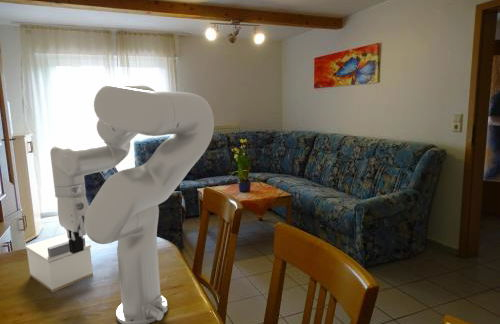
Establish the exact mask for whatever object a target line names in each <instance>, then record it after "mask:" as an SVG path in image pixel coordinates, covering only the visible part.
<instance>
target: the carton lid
mask: <svg viewBox="0 0 500 324" xmlns="http://www.w3.org/2000/svg"><path fill="white" fill-rule="evenodd" d="M83 247H84V250H85V249H88V248H90V249H91V248H92V245H91V244H90V243H87V242H86V238H85V236H83ZM25 249H26V250H27V249H28V250H29V251H31V252H32V253H34V254H35V255H37V256H39V257H40V258H42V259H43V260H45V261H47V262H51V261H54V260H57V259H60V258H62V257H65V256H68V255H71V254H73V253H71V252H70V248H69V239H68V236H67V232H65V233H64V234H60V235H57V236H54V237H50V238H47V239H44V240H43V239H42V240H40V241H37V242H34V243H30V244H27V245H25Z"/></svg>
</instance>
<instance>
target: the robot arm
mask: <svg viewBox="0 0 500 324" xmlns="http://www.w3.org/2000/svg"><path fill="white" fill-rule="evenodd" d="M93 108H94V113H95V115H96V117H97V118H98V120H97V121H96V122H97V123H96V130H97V131H96V132H97V134H98V135H99V138H101V140H103V142H102V143H97V144H95V143H94V144H89V145H81V146H79V145H77V144H62V145H57V146H53V147H52V148H51V149H50V161H51V170H52V180H53V186H54V187H53V188H54V196H55V198H57V216H58V217H57V218H58V222H59V225H60V226H61V227H63V228H64V230H66V233H67V236H68V239H69V248H70V252H71V253H73V254H75V253H78V252H80V251H83V250H84V247H83V237H85V236H87V237H88V238H89V239H90V240H91V241H92V242H94V243H96V244H100V245H108V244H112V243H114V242H116V241H117V248H116V250H117V251H116V253H117V256H116V257H117V265H118V276H119V277H118V278H119V287H120V296H121V297H120V299H121V304H120V305H119V306H118V307H117V308H116V312H115V315H116V319H117V321H118V322H119V323H120V324H150V323H153V322H155V321H161V320H163V318H164V315H165V313H167V311H168V309H169V308H168V301H167V299H166V298H165V297H164V296H163V295H162V294H161V282H160V272H159V271H160V269H159V267H160V266H159V257H158V256H159V255H158V238H157V237H158V236H157V235H158V233H157V232H158V224H159V214H160V209H159V205H160V204H162V203H164V202H166V201H167V200H168V199H169V198H170V197H171V195H172V194H173V193H174V191H175V190H176V189H177V188H178V186H179V185H180V184H181V182H182V181H183V180H184V179H185V177H186V176H187V175H188V173H189V172H190V171H191V169H192V168H193V167H194V166H195V164H196V163H197V162H198V161H199V160H200V159H201V157H202V156H203V155H204V153H205V152H206V150H207V148H208V147H209V145H210V143H211V141H212V138H213V135H214V129H215V121H214V119H215V118H214V113H213V109H212V108H211V105H210V104H209V102H208V101H207V100H206V99H205V98H204V97H202V96H201V95H199V94H196V93H193V92H187V91H186V92H184V91H155V90H154V89H153V88H151V87H150V86H147V85H143V84H133V83H130V84H129V83H109V84H106V85H104V86H102V87H101V88H100V89H99V90H98V91H97V93H96V94H95V98H94V102H93ZM138 134H139V135H142V136H151V137H160V136H167V135H170V136H169V137H167V138H166V139H165V140H164V141H163V142H162V143H161V144H159V145H158V147H157V148H156V149H155V151H154V152H153V154H152V155H151V157H150V158H149V159H148V160H147V161H146V162H145V163H143V164H141V165H138V166H135V167H131V168H127V169H123V170H119V171H117V172H115V173H113V174H112V175H110V176H109V177H108V178H107V179H106V180H105V181H104V183H103V184H102V185H101V187H100V189H99V190H98V192H96V194H95V197H94V198H93V199H92V201H91V203H90V204H89V202H88V199H87V196H86V193H87V192H86V191H87V190H86V181H85V176H87V175H91V174H95V173H100V172H101V173H102V172H106V171H109V170H111V169H114V168H115V167H117V166H118V165H119V164H120V163H121V162H122V161H124V160H125V158H126V157H128V155H129V153H130V150H131V141H132V140H133V139H135V137H136V136H137V135H138ZM118 240H119V242H118Z"/></svg>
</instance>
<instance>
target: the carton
mask: <svg viewBox="0 0 500 324" xmlns="http://www.w3.org/2000/svg"><path fill="white" fill-rule="evenodd" d="M26 253H27V261H28V262H27V263H28V267H29V273H30V274H29V275H30V277H31V278H33V279H34V280H36V281H37V282H38V283H39V284H41V285H42V286H43V287H45V288H46V289H47V290H49V291H50V292H51V293H54V292H57V291H59V290H62V289H64V288H66V287H68V286H70V285H73V284H75V283H78V282H81V281H82V280H85V279H88V278H90V277H92V276H94V273H93V271H94V270H93V263H92V252H91V248H88V249H85V250H83V251H80V252H78V253H75V254H71V255H68V256H65V257H62V258H60V259H57V260H54V261H51V262H47V261H45V260H43V259H42V258H40V257H39V256H37V255H35V254H34V253H32V252H31V251H29V250H28V249H26Z"/></svg>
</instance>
